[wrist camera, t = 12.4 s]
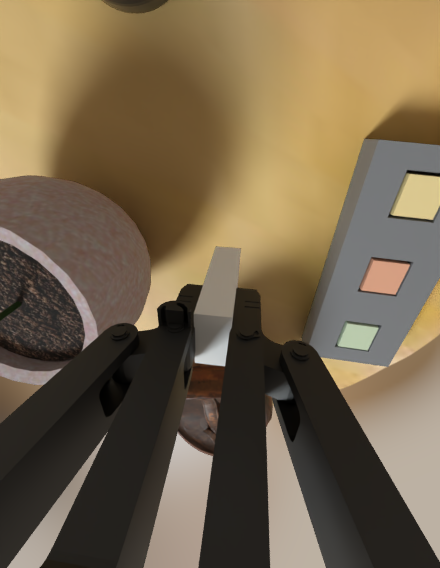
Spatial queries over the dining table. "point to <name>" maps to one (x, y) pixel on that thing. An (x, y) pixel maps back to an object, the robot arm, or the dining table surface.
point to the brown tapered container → (206, 407)
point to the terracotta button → (384, 275)
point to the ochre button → (417, 196)
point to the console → (376, 255)
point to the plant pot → (63, 273)
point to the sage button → (357, 335)
